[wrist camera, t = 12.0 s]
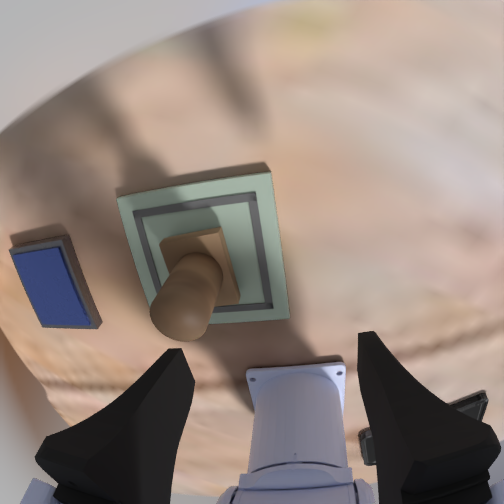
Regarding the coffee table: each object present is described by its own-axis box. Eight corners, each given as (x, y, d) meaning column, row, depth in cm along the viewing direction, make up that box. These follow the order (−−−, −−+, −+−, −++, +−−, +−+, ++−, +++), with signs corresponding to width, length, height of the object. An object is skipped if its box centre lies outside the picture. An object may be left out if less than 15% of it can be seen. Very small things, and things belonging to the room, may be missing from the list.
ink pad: (102, 322, 25) (96, 330, 24) (47, 321, 26) (41, 328, 25) (68, 234, 22) (60, 240, 21) (15, 245, 23) (7, 250, 22)
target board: (289, 313, 23) (289, 319, 22) (158, 321, 24) (155, 326, 24) (270, 171, 19) (270, 173, 18) (120, 196, 20) (115, 199, 20)
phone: (477, 431, 27) (364, 467, 31) (475, 424, 28) (363, 460, 32) (490, 394, 24) (360, 437, 28) (486, 387, 25) (358, 429, 29)
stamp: (241, 291, 22) (227, 351, 16) (188, 298, 22) (162, 356, 17) (223, 223, 20) (199, 269, 14) (166, 234, 20) (127, 281, 15)
